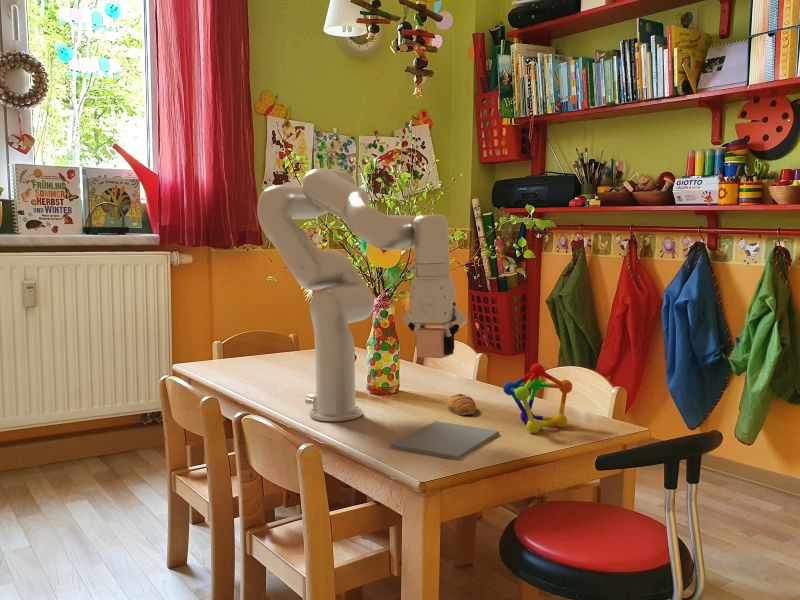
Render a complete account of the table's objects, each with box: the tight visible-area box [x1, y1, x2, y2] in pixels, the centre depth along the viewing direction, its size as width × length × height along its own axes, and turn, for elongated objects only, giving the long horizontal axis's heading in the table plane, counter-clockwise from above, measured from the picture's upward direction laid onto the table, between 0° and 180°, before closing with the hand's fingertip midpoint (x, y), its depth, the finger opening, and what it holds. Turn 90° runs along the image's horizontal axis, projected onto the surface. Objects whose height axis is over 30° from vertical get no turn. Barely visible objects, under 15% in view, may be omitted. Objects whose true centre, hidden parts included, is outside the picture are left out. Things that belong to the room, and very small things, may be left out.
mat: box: [389, 420, 500, 461], centre depth 158 cm, size 16×20×1 cm
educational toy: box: [502, 363, 573, 434], centre depth 167 cm, size 16×13×15 cm
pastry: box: [446, 393, 477, 416], centre depth 181 cm, size 9×7×4 cm
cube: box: [415, 325, 455, 359], centre depth 161 cm, size 6×6×6 cm
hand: (435, 352), depth 161 cm, fingers closed on cube, 6 cm apart
